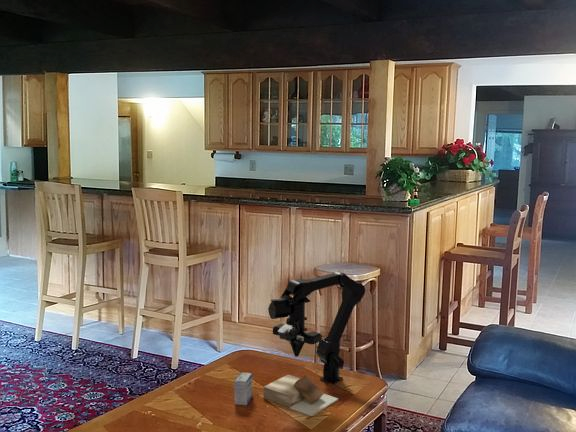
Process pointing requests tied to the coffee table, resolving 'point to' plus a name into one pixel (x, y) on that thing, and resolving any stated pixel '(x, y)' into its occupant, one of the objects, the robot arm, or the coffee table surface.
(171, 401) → the coffee table surface
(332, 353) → the robot arm
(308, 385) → the walnut tile
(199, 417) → the coffee table surface
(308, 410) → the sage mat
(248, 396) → the medicine box
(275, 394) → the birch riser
